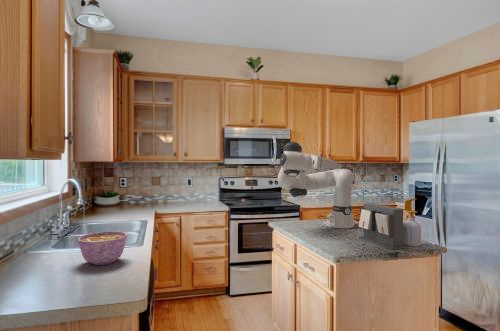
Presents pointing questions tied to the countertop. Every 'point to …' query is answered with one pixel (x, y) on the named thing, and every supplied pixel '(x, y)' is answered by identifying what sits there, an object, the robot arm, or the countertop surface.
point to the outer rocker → (382, 223)
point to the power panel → (395, 227)
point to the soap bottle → (411, 227)
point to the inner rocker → (365, 219)
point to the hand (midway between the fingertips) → (337, 166)
